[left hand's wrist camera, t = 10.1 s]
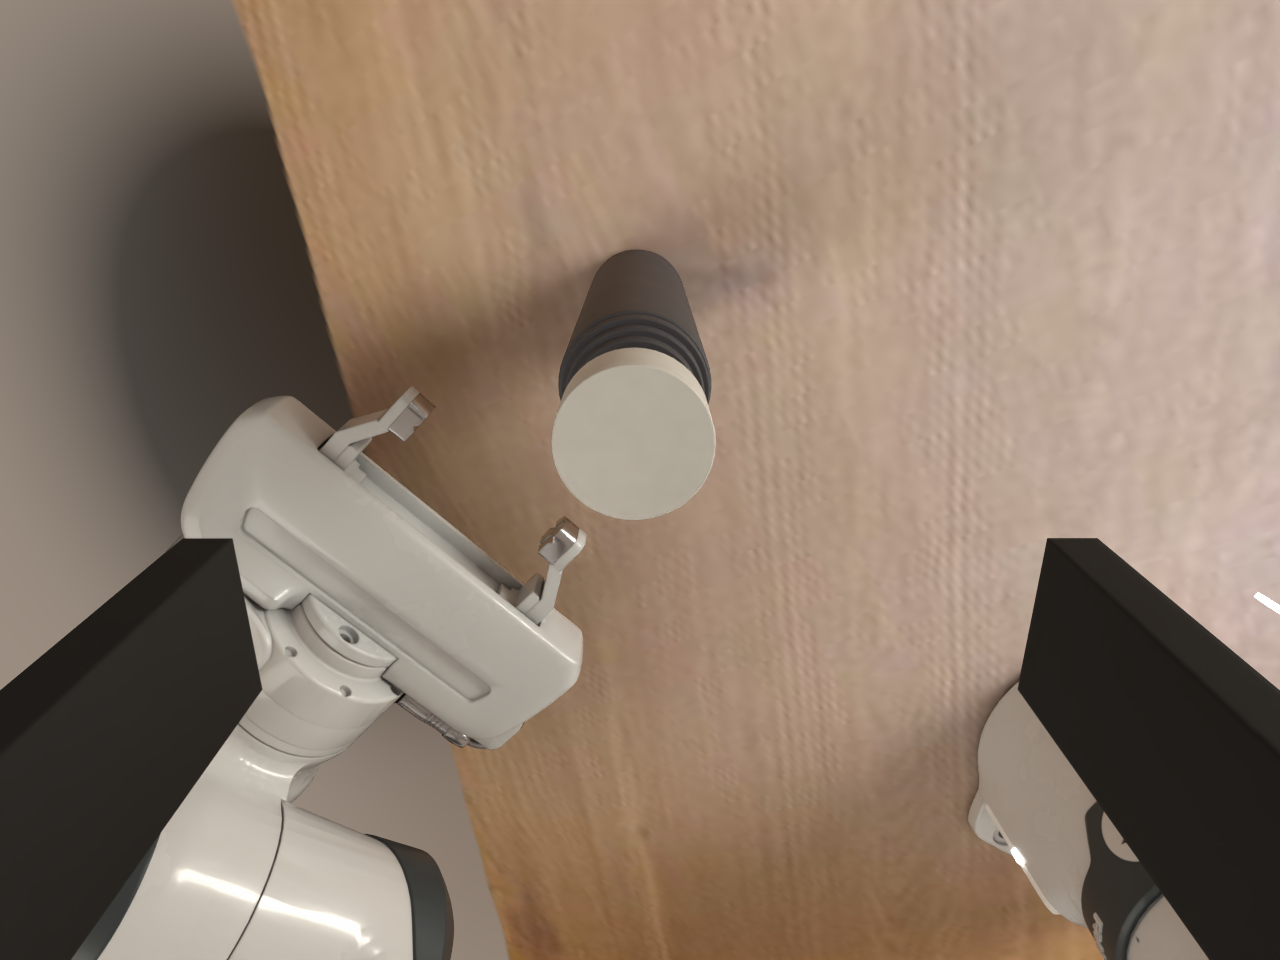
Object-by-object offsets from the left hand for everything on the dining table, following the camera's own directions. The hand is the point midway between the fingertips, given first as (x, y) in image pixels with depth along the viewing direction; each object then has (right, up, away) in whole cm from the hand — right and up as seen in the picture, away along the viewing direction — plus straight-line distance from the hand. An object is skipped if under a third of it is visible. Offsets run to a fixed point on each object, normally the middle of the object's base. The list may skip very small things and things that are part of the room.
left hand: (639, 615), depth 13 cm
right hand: (-6, +3, +26) cm, 27 cm away
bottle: (0, +11, +29) cm, 31 cm away
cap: (0, +3, +8) cm, 8 cm away
